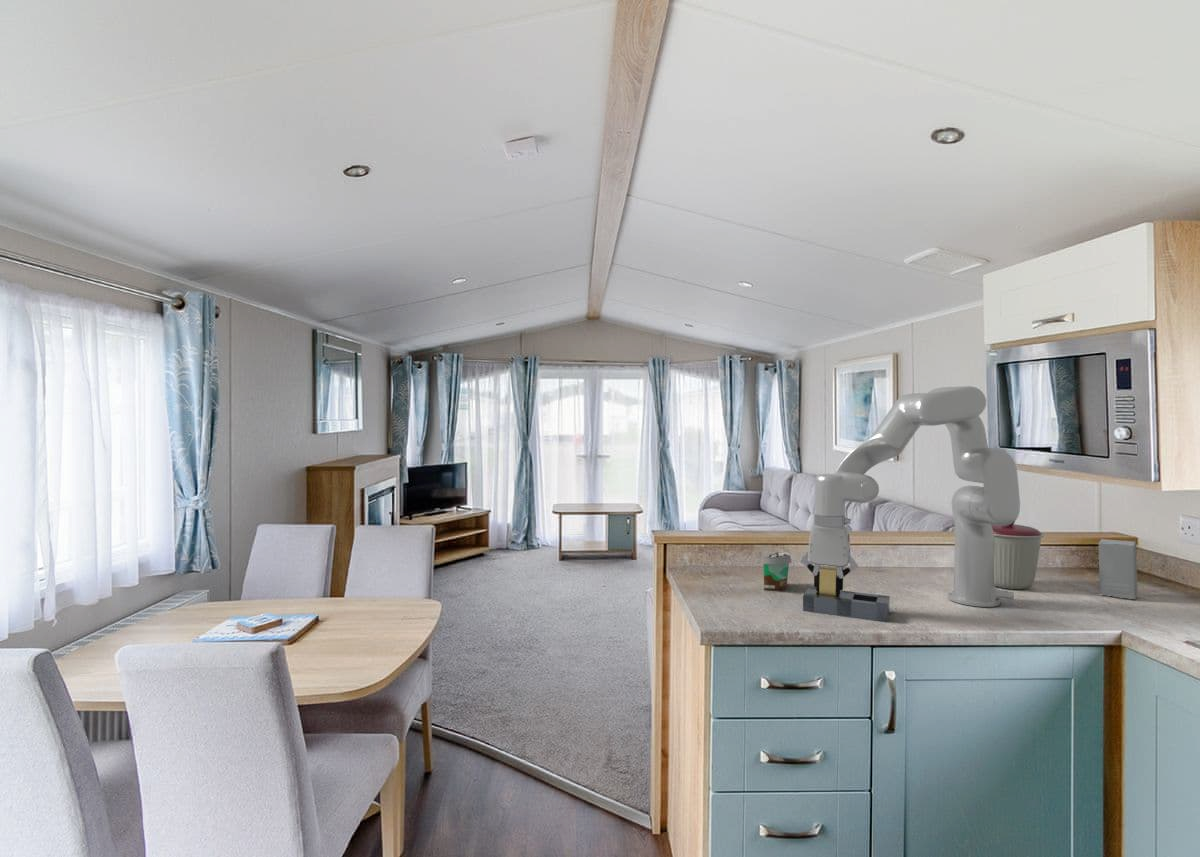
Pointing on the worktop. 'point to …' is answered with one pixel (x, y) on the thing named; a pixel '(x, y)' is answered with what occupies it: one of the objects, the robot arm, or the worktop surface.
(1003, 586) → the canister
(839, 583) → the robot arm
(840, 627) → the worktop surface
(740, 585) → the worktop surface
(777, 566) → the food container
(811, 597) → the grey peg board
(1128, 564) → the skincare box
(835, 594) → the brass peg
